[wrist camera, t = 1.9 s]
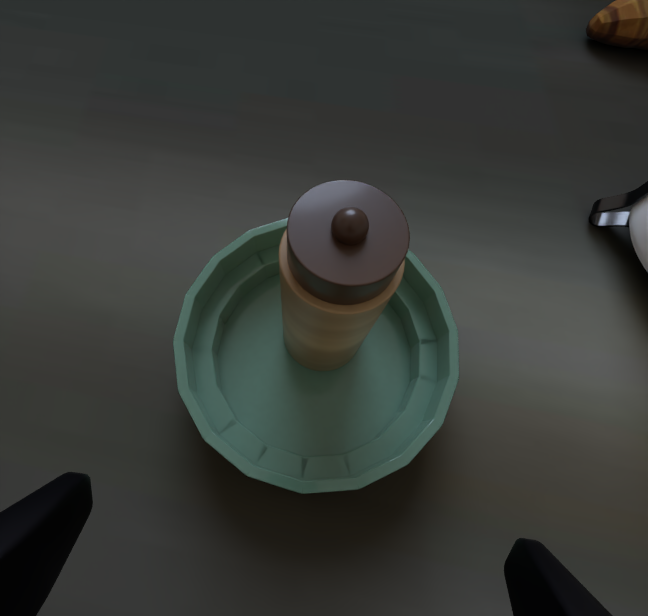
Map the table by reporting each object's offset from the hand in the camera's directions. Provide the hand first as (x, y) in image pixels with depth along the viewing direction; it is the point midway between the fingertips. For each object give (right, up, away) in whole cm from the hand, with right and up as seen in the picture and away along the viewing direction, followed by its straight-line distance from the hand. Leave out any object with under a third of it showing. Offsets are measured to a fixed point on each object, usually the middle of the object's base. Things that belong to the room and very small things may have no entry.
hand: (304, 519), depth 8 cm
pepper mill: (0, +3, +15) cm, 15 cm away
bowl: (0, +2, +15) cm, 15 cm away
